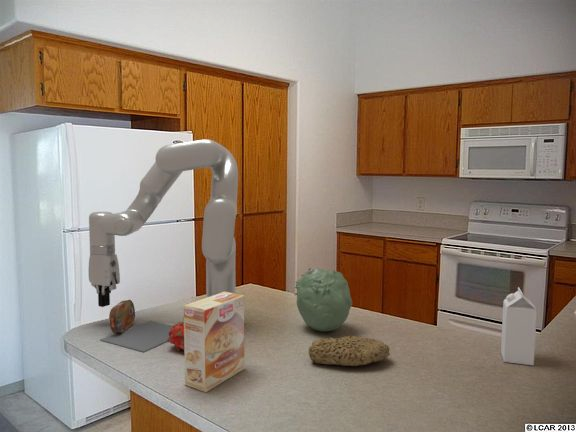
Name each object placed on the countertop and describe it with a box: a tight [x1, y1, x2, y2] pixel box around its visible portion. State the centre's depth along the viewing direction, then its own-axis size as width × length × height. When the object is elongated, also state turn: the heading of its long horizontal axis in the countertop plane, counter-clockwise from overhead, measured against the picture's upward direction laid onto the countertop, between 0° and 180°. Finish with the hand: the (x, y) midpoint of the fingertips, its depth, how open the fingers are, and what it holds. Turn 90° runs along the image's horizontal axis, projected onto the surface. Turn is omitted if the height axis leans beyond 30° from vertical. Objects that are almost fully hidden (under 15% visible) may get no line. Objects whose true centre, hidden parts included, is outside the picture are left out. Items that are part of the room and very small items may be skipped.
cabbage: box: [293, 267, 353, 332], centre depth 144 cm, size 16×19×20 cm
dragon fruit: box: [167, 321, 184, 352], centre depth 129 cm, size 8×8×12 cm
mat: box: [99, 319, 174, 353], centre depth 140 cm, size 18×20×1 cm
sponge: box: [308, 335, 391, 367], centre depth 121 cm, size 13×8×20 cm
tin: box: [108, 299, 136, 334], centre depth 145 cm, size 15×3×8 cm, turn 179°
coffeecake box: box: [183, 292, 246, 393], centre depth 111 cm, size 15×7×20 cm, turn 148°
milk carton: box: [500, 286, 538, 366], centre depth 122 cm, size 7×7×19 cm
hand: (104, 305), depth 149 cm, fingers closed
